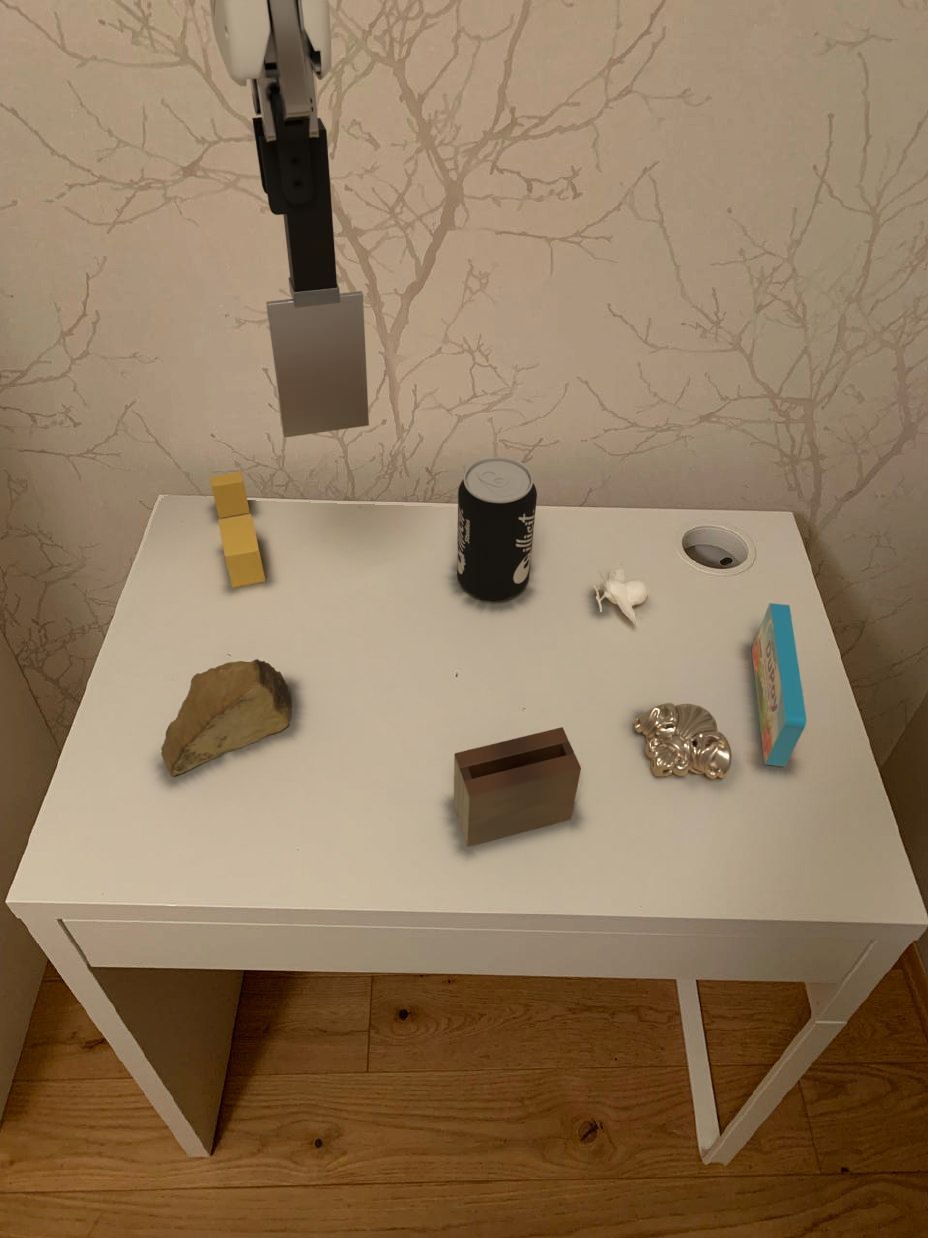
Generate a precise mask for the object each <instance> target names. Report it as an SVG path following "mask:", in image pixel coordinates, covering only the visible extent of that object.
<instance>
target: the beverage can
mask: <svg viewBox="0 0 928 1238" xmlns="http://www.w3.org/2000/svg"><path fill="white" fill-rule="evenodd" d="M535 485H536V484H535V483H534V475H533V473H532V472H531V470H530V469H529V467H528V466H527V465H526V464H524V463H523V462H521V461H519V460H517V459H515V458H511V457H508V456H507V457H506V456H487V457H482V458H480V459H478V460H476V461H473V462H472V463H471V464H470V465H468V466H467V467H466V469H465V471H464V473H463V479H462V480H461V482H460V484H459V486H458V490H457V541H456V542H457V548H456V550H457V551H456V578H457V581H458V583H459V584H460V586H461V587H462V589H464V591H465V592H467V593H468V594H470V595H471V596H473V597H475V598H476V599H479V600H482V601H486V602H502V601H507V600H509V599H512V598H513V597H515V596H517V595H518V594H520V593H522V591H524V589H525V588H526V586H527V584H528V583H529V580H530V571H531V563H532V562H531V561H532V552H533V540H534V533H535V532H534V529H535V519H536V509H537V499H538V491H537V487H536V486H535Z"/></svg>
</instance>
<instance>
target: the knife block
mask: <svg viewBox="0 0 928 1238" xmlns="http://www.w3.org/2000/svg"><path fill="white" fill-rule="evenodd" d="M571 744H572V743H571V742H570V741H569V738H568V736H567V734H566V731H565V730H564V727H558V728H554V729H549V730H544V731H541V732H540V731H539V732H536V733H533V734H529V735H528V734H527V735H524V736H520V737H516V738H512V739H508V740H503V741H500V742H496V743H495V742H494V743H491V744H487V745H483V746H479V747H474V748H471V749H466V750H463V751H458V752H455V753H454V759H453V760H454V761H453V763H454V764H453V807H454V810H455V814H456V817H457V819H458V823H459V826H460V829H461V832H462V835H463V839H464V841H465V844H466V847H467V848H469V847H473V846H476V845H477V846H478V845H480V844H484V843H489V842H492V841H495V840H499V839H503V838H506V837H511V836H515V835H518V834H522V833H525V832H530V831H533V830H537V829H541V828H544V827H549V826H551V825H556V824H559V823H564V822H567V821H571V819H572V817H573V810H574V807H575V806H574V805H575V800H576V795H577V792H578V791H577V790H578V786H579V782H580V777H581V771H582V767H581V764H580V762H579V760H578V758H577V756H576V754H575V751H574V749H573V746H572V745H571Z"/></svg>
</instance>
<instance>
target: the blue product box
mask: <svg viewBox="0 0 928 1238" xmlns="http://www.w3.org/2000/svg"><path fill="white" fill-rule="evenodd" d="M767 606H768V607H767V609H766V611H765V614H764V616H763V618H762V622H761V624H760V627H759V629H758V632H757V634H756V637H755V639H754V642H753V644H752V648H751V656H752V666H753V674H754V685H755V694H756V705H757V713H758V721H759V722H758V723H759V731H760V742H761V751H762V760H763V764H764V765H765V766H766V765H767V766H775V767H784V768H785V767H786V766H787V763H788V762H789V759H790V758H791V755H792V754H793V752H794V750H795V747H796V745H797V744H798V741H799V740H800V738H801V735H802V734H803V732H804V731H805V728H806V725H807V712H806V707H805V706H806V705H805V699H804V693H803V686H802V679H801V673H800V672H801V671H800V667H799V659H798V654H797V647H796V639H795V632H794V627H793V620H792V619H793V618H792V613H791V606H790V604H782V603H772V602H770V603H769V604H768V605H767Z"/></svg>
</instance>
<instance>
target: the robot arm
mask: <svg viewBox="0 0 928 1238" xmlns="http://www.w3.org/2000/svg"><path fill="white" fill-rule="evenodd" d="M208 1H209V8H210V15H211V16H210V17H211V24H212V29H213V34H214V38H215V41H216V44H217V47H218V50H219V53H220V56H221V58H222V62H223V65H224V67H225V69H226V71H227V74H228V76H229V77H230V79H231V80H232V81H233V82H234V83H235V84H237V85H238V86H239V87H247V80H249V84H250V92H251V97H252V98H251V99H252V104H253V110H254V114H255V116H259V117H252V118H251V119H252V124H253V125H252V127H253V133H254V134H253V135H254V140H255V147H256V153H257V161H258V167H259V168H258V169H259V174H260V180H261V187H262V189H263V192H264V194H266V195H267V202H268V207H269V210H270V212H271V213H272V214H273V215H274V216H282V215H283V214H291V213H300V212H309V211H318V210H323V209H325V208H326V206H327V194H326V183H325V173H324V162H323V152H322V141H321V133H320V131H319V129H318V119H317V118H318V108H317V99H316V89H315V88H316V87H315V77H316V78H317V79H318V81H321V80H323V79H324V78H325V77H326V76H327V75H328V74H329V72H330V71H331V69H332V38H331V37H332V34H331V18H330V4H329V3H330V1H329V0H208ZM314 74H315V77H314ZM283 216H284V215H283Z"/></svg>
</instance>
